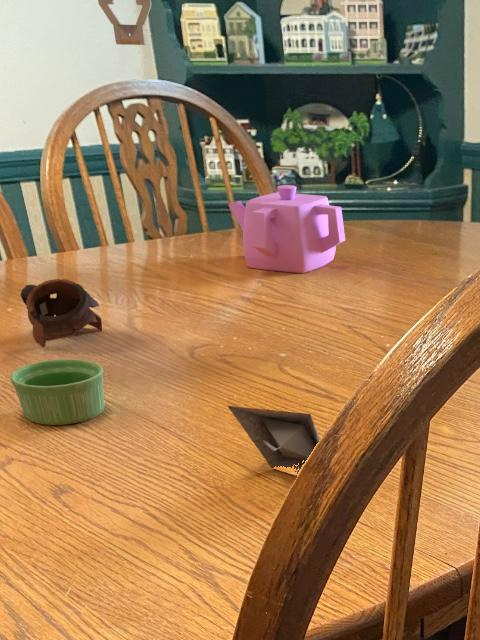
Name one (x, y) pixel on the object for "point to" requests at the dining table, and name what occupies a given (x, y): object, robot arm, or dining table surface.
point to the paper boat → (279, 434)
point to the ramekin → (60, 391)
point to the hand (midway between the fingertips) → (131, 44)
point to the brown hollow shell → (59, 309)
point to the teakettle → (289, 230)
